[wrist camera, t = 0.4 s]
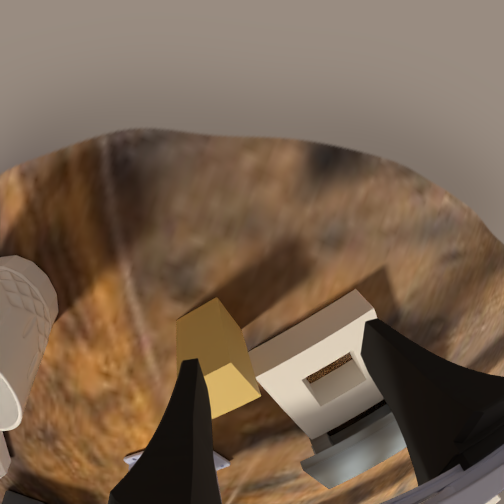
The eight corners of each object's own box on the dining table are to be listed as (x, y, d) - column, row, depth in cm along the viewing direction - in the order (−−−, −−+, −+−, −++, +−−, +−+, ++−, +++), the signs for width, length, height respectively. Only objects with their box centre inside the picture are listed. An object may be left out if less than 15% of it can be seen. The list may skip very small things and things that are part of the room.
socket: (302, 418, 30) (311, 439, 27) (247, 352, 25) (254, 377, 22) (386, 369, 30) (400, 388, 27) (355, 288, 25) (373, 308, 22)
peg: (202, 350, 24) (211, 419, 18) (176, 320, 23) (177, 389, 16) (241, 329, 24) (261, 396, 18) (216, 296, 23) (230, 362, 16)
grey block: (313, 448, 33) (331, 490, 27) (284, 418, 30) (303, 470, 24) (406, 393, 33) (433, 431, 27) (395, 353, 29) (430, 396, 23)
